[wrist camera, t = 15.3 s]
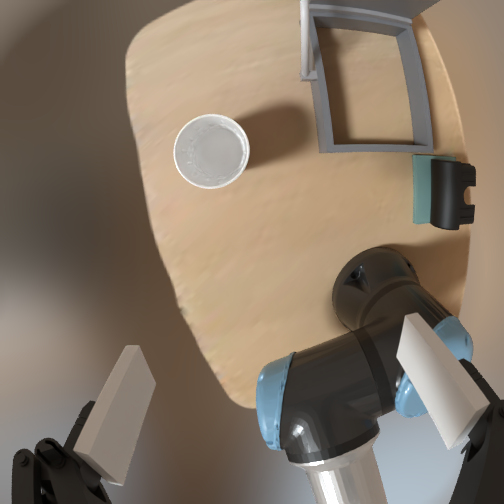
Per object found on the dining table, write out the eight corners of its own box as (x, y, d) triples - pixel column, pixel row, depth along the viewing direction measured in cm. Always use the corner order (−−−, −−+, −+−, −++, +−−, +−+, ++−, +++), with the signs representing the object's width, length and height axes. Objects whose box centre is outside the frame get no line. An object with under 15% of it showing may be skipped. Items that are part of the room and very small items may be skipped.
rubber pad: (451, 219, 39) (454, 220, 38) (413, 222, 40) (416, 224, 39) (452, 156, 36) (455, 157, 35) (412, 154, 36) (415, 155, 35)
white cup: (198, 184, 38) (181, 195, 28) (188, 130, 35) (167, 123, 26) (254, 174, 37) (255, 181, 28) (244, 119, 35) (242, 107, 25)
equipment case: (419, 152, 36) (517, 164, 16) (305, 153, 36) (363, 155, 17) (397, 24, 28) (470, -24, 9) (284, 13, 29) (308, -73, 9)
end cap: (420, 157, 35) (446, 160, 29) (452, 159, 35) (478, 163, 28) (420, 220, 38) (444, 232, 32) (451, 217, 38) (475, 228, 32)
